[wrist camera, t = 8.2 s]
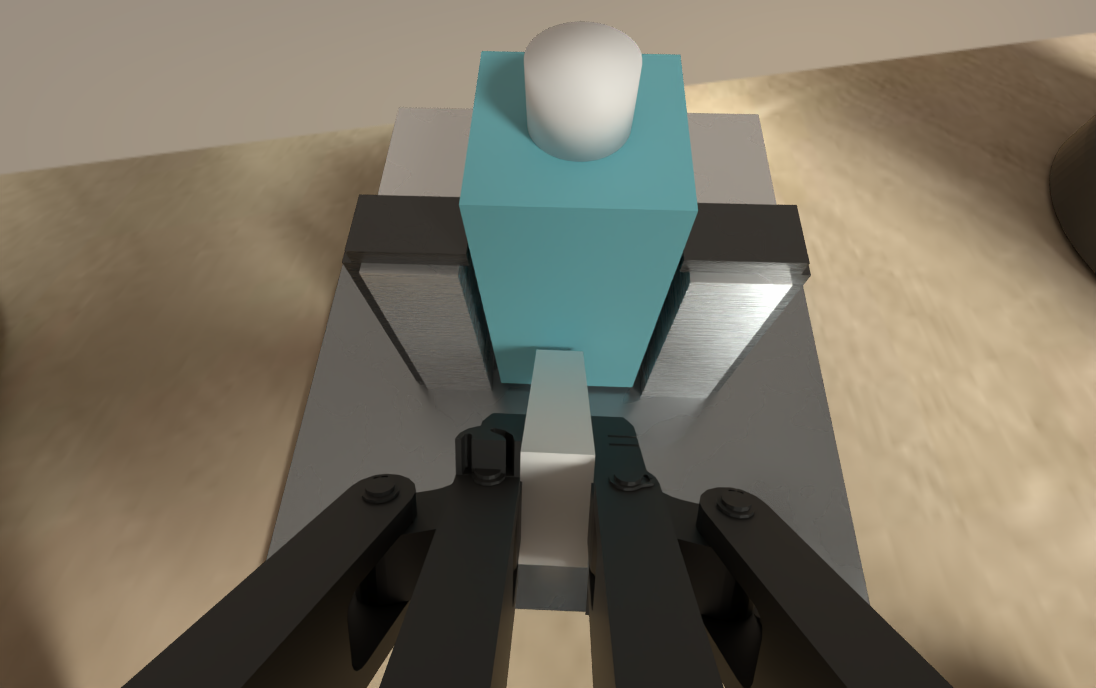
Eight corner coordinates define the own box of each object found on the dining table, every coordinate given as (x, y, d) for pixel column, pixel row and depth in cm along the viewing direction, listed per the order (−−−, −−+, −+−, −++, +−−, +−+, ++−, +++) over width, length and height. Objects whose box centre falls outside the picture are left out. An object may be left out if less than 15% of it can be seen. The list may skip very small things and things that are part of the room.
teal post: (628, 277, 22) (696, -14, 12) (632, 387, 20) (720, 151, 9) (510, 274, 22) (472, -17, 12) (501, 382, 20) (445, 144, 9)
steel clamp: (793, 266, 23) (921, 91, 15) (867, 623, 17) (1149, 646, 9) (349, 254, 24) (245, 78, 16) (262, 597, 17) (16, 595, 9)
